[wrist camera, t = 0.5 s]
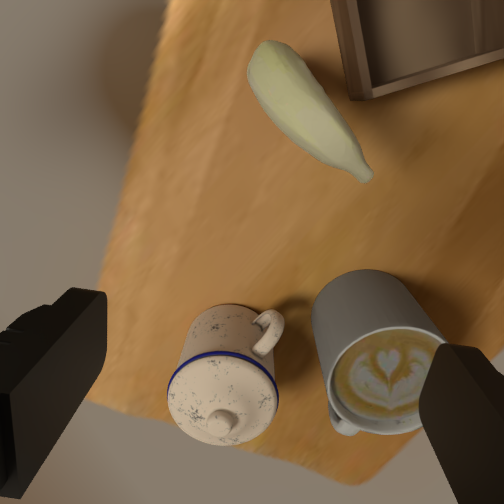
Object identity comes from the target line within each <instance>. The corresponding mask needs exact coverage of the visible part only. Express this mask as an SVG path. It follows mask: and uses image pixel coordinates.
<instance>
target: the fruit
mask: <svg viewBox="0 0 504 504" xmlns="http://www.w3.org/2000/svg"><path fill="white" fill-rule="evenodd" d="M247 77H248V81H249V84H250V86H251V88H252V90H253V92H254V94H255V96H256V98H257V100H258V101H259V103H260V105H261V106H262V108H263V109H264V111H265V112H266V114H267V115H268V116H269V117H270V119H271V120H272V121H273V122H274V123H275V124H276V126H277V127H278V128H279V129H280V130H281V131H282V132H283V133H284V134H285V135H287V136H288V137H289V138H290V139H291V140H292V141H293V142H294V143H295V144H296V145H298V146H299V147H300V148H302V149H303V150H305V151H306V152H308V153H309V154H310V155H312V156H313V157H315V158H316V159H317V160H319V161H321V162H322V163H324V164H327V165H329V166H332V167H334V168H338V169H342V170H345V171H347V172H349V173H351V174H352V175H353V176H354V177H356V178H357V180H358V181H359V182H360V183H367V182H369V181H370V180H371V179H372V178H373V175H374V172H373V170H372V169H371V168H370V167H369V165H368V164H367V163H366V161H365V159H364V156H363V153H362V149H361V147H360V144H359V142H358V140H357V139H356V137H355V135H354V133H353V132H352V130H351V129H350V127H349V126H348V124H347V123H346V121H345V120H344V118H343V117H342V115H341V114H340V113H339V111H338V110H337V108H336V107H335V106H334V104H333V102H332V101H331V100H330V98H329V97H328V96H327V95H326V93H325V91H324V88H323V87H322V86H321V85H320V84H319V83H318V82H317V81H316V79H315V77H314V76H313V75H312V73H311V71H310V70H309V68H308V67H307V65H306V63H305V62H304V60H303V59H302V58H301V57H300V56H299V55H298V54H297V53H296V52H295V51H294V50H293V49H292V48H291V47H290V46H288V45H286V44H284V43H281V42H278V41H273V40H268V41H264V42H262V43H261V44H260V45H259V47H258V48H257V49H256V50H255V52H254V54H253V57H252V59H251V61H250V62H249V65H248V68H247Z"/></svg>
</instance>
